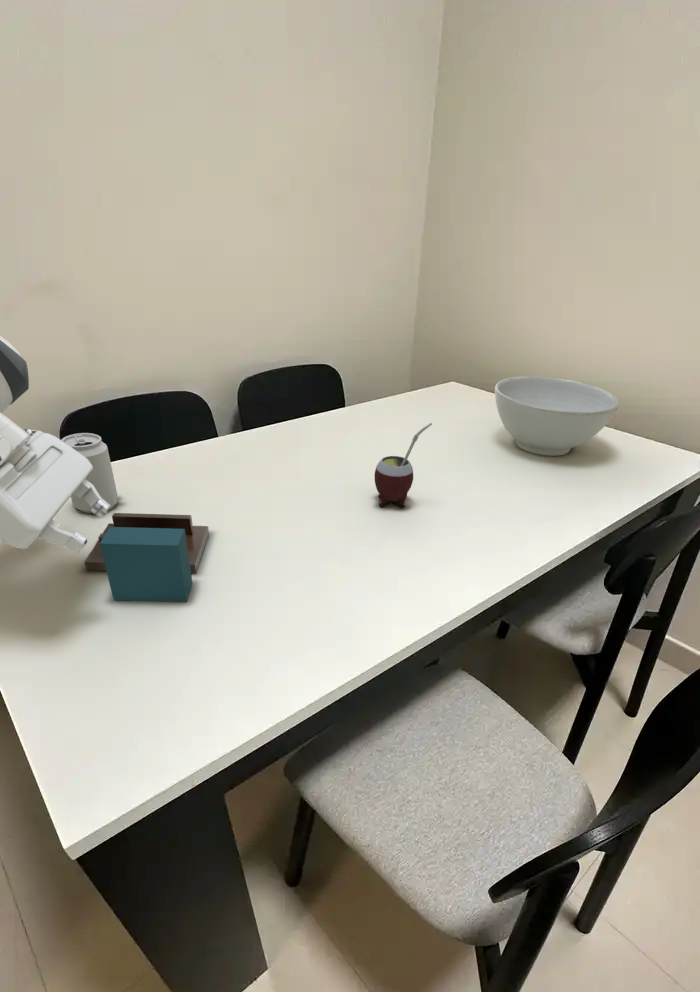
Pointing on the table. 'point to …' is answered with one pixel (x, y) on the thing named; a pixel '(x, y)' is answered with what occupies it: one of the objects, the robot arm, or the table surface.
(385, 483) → the mate gourd
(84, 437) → the can
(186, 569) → the back pad
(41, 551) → the table surface
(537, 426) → the decorative bowl
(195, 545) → the board
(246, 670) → the table surface
